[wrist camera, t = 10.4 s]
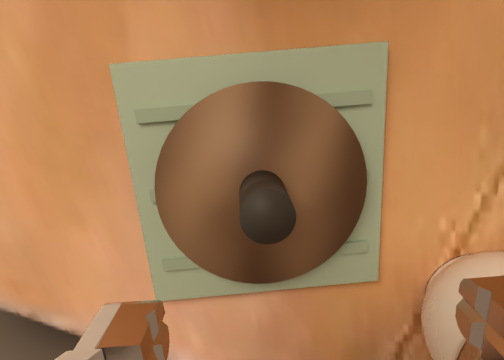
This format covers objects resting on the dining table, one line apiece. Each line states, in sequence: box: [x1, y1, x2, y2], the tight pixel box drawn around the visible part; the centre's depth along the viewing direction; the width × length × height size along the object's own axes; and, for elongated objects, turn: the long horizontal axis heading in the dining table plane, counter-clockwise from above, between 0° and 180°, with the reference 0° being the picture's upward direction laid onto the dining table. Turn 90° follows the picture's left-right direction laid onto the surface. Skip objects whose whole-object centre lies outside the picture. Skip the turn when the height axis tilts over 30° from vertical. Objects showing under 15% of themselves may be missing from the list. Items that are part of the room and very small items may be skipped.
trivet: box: [109, 41, 388, 301], centre depth 21 cm, size 16×16×1 cm
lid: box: [154, 81, 367, 284], centre depth 18 cm, size 13×13×5 cm
